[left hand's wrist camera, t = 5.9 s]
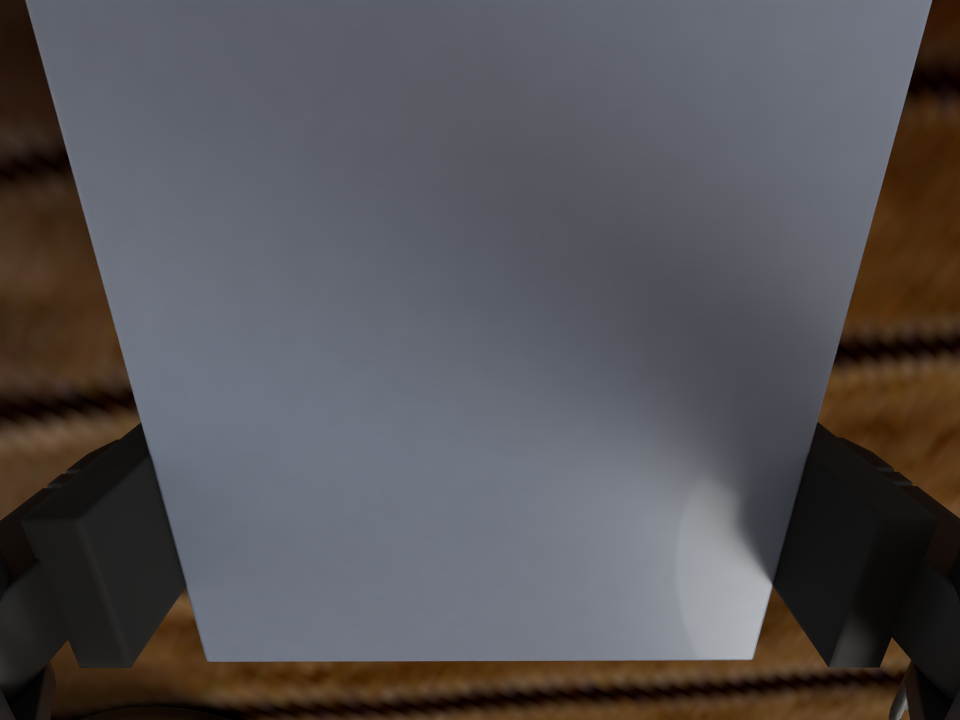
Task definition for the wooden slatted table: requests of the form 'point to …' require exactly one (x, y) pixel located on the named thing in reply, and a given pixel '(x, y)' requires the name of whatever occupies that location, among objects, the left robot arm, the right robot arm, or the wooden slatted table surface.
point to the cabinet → (478, 302)
